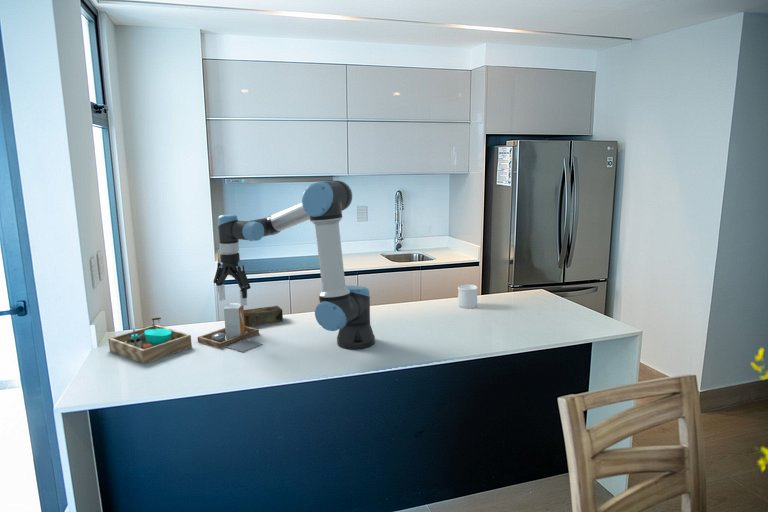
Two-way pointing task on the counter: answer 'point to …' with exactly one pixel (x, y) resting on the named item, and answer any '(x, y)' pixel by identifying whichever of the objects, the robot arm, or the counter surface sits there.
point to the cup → (467, 296)
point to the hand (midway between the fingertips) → (232, 302)
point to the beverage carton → (263, 316)
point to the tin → (218, 337)
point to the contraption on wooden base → (150, 337)
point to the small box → (234, 320)
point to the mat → (244, 345)
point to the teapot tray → (153, 353)
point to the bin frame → (206, 340)
